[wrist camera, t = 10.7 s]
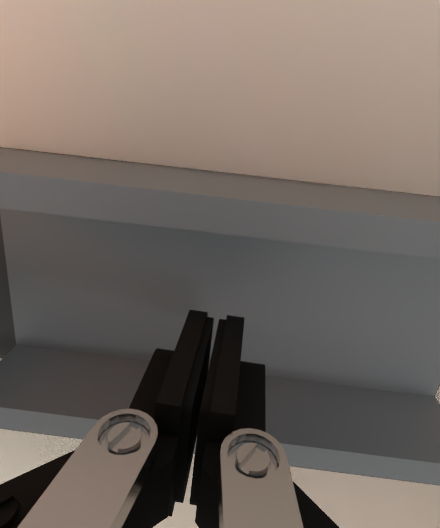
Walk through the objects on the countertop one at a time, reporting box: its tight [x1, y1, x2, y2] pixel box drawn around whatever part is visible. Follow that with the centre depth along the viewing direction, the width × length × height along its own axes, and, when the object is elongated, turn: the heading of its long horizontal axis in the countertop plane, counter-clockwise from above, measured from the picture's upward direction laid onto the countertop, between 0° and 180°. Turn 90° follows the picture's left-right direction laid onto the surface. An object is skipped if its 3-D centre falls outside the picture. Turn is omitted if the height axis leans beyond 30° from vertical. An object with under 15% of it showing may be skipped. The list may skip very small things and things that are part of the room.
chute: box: [0, 147, 440, 485], centre depth 14 cm, size 18×9×4 cm, turn 84°
